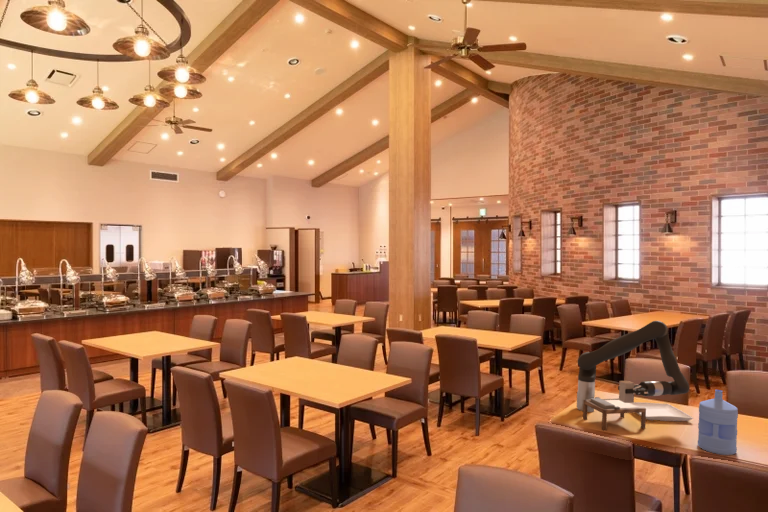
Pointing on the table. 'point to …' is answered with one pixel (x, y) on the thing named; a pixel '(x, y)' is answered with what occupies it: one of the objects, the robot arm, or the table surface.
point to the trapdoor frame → (613, 412)
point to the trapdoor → (611, 403)
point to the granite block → (622, 395)
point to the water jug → (717, 425)
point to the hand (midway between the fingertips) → (622, 389)
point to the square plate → (662, 412)
